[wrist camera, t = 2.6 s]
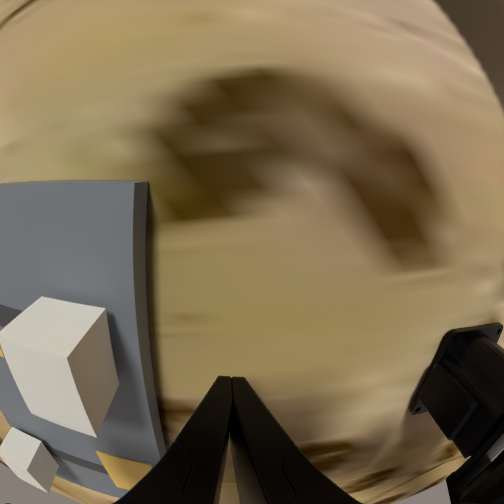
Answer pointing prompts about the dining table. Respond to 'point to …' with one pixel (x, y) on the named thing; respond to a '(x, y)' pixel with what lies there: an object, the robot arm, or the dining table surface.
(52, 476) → the slider
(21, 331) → the slider
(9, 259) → the switch panel
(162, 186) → the dining table surface
